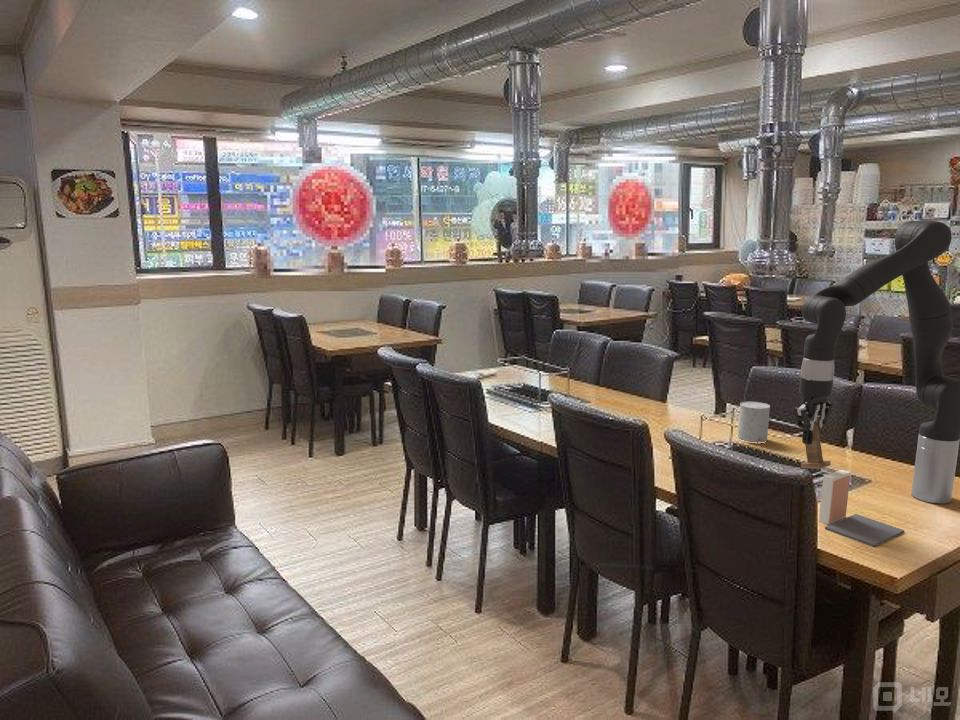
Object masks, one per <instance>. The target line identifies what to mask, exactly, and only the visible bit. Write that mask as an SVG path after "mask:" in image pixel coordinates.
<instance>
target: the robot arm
mask: <svg viewBox="0 0 960 720" xmlns="http://www.w3.org/2000/svg"><path fill="white" fill-rule="evenodd" d="M952 237H953V236H952V231H951V229H950V227H949V225H947V224H946V223H944V222H941V221H936V220H908V221H905V222H903V223H901V224H900V225H899V226H898V228H897V230H896V231H895V234H894V248H895V251H894V252H892V253H889V254H888V255H887V254H886V255H885V256H883V257H880V258H878V259H875V260H873V261H871V262H869V263H866V264H864V265H862V266H860V267H858V268H856V269H855V270H854V271H852V272H851V273H849V274H848V275H847V276H845V277H844V278H842V279H841V280H840V281H838V282H837V283H834V284H832V285H829V286H827V287H825V288H823V289H821V290H819V291H817V292H815V293H813V294H812V295H810V296H809V297H808V298H807V299H806V300H805V301H804V303H803V304H802V306H801V316H802V317H803V319H804V320H805V321H807V322H808V323H810V324H815V325H817V327H816V330H815V333H813V334H809V335H807V336H806V338H805V341H804V345H803V358H802V362H801V368H800V379H799V387H798V388H799V389H798V392H799V394H801V395H802V396H803V397H802V400H801V404H800V406H799V407H797V406H795V407H794V415H795V420H796V424H797V427H798V428H801V429H802V440H801V442H802V443H803V444H804V445H805V444H808V445H809V444H811V443H812V435H813V426H814V422H815V421H816V420H817V422H818V430H819V436H820V435H821V434H820V433H821V428H823V425H826V424H827V423H828V420H829V416H830V414H831V411H832V408H833V406H834V404H833V402H830V401H828V398H830V397H832V396H833V387H834V379H835V378H834V377H835V357H836V345H837V342H838V340H839V338H840V336H841V332H842V330H843V327H844V325H845V321H846V318H847V309H846V307H853V306H856V305H858V304H860V303H861V302H864V300H866V299H867V298H869V297H871V296H872V295H874V293H876V292H878V290H880V289H881V288H883V287H884V286H886V285H888V284H889V283H891V282H892V281H894V280H896V279H898V278H899V277H902V278H903V279H902V280H903V284H904V291H905V297H906V302H907V303H906V304H907V309H908V318H909V325H910V330H911V335H912V344H913V350H914V351H913V354H914V361H915V362H914V363H915V365H914V366H915V391H916V396H917V399H918V402H919V403H920V404H921V405H922V406H923V407H925V408H928V409H931V410H932V411H933V410H934V411H936V414H935V416H934V420H933V421H932V420H930V421H925V422H922V423H921V424H920V425H919V427H918V428H919V430H918V437H917V446H916V452H915V453H916V454H915V462H914V469H913V470H914V471H913V476H912V487H911V496H912V497H914V498H915V499H918V500H920V501H923V502H927V503H931V504H949V503H951V502H952V498H953V497H952V496H953V491H954V484H955V476H956V469H957V462H958V461H957V460H958V454H959V446H960V379H956V378H952V377H949V376H945V374H944V369H943V366H942V365H943V364H942V356H943V355H942V354H943V352H944V350H945V348H946V346H947V344H948V342H949V340H950V338H951V336H952V333H953V329H954V328H953V327H954V325H953V324H954V322H953V316H952V308H951V304H950V301H949V300H948V298H947V296H946V294H945V293H944V291H943V290H942V288H941V287H940V286H939V284H938V282H937V281H936V280H935V278H934V276H933V275H932V272H931V269H930V266H929V262H930V261H932V260H934V259H936V258H938V257H940V256H942V255H943V254H944V253H945V252H946V251H948V248H949V247H950V245H951V242H952ZM807 416H811V417H812V418H810V417H807ZM808 421H810V424H809V422H808Z"/></svg>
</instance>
